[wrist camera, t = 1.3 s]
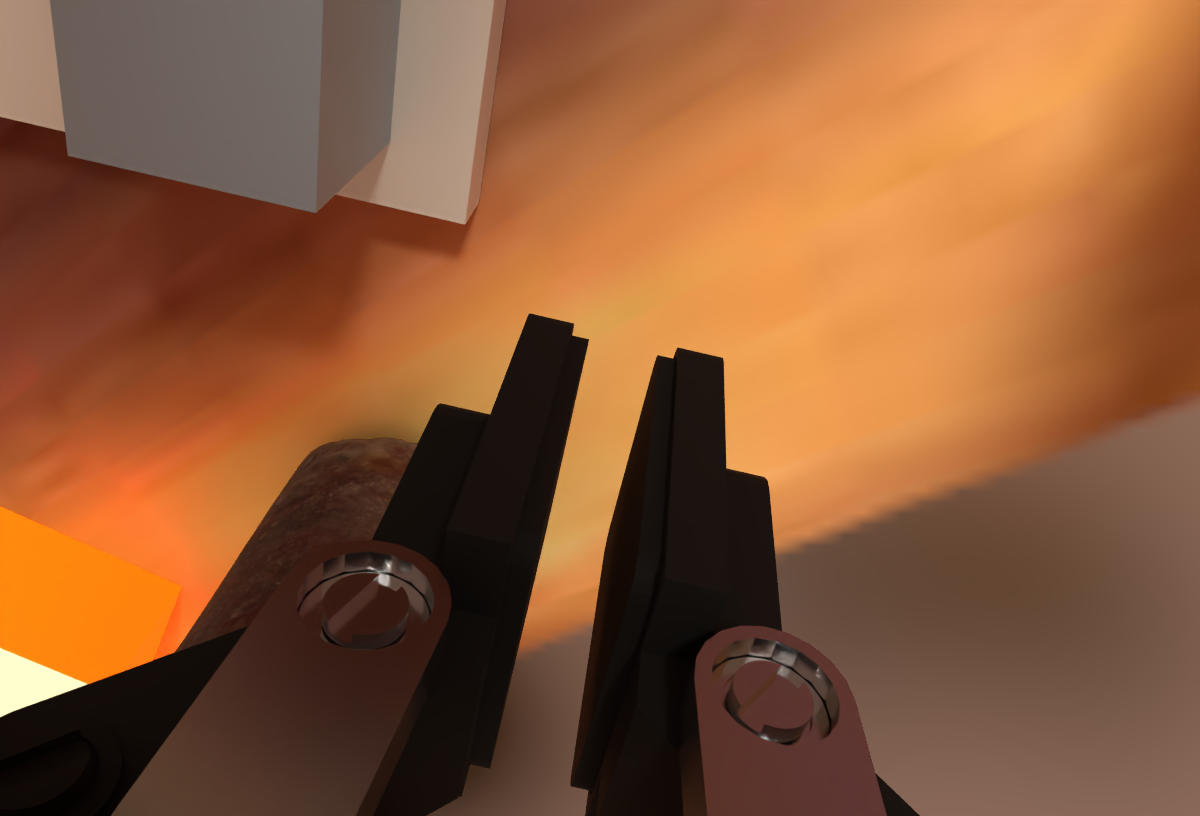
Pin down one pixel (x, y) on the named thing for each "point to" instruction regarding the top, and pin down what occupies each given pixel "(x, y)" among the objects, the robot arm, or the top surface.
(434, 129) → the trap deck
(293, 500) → the brown piece
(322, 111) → the block
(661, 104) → the top surface
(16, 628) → the orange juice
